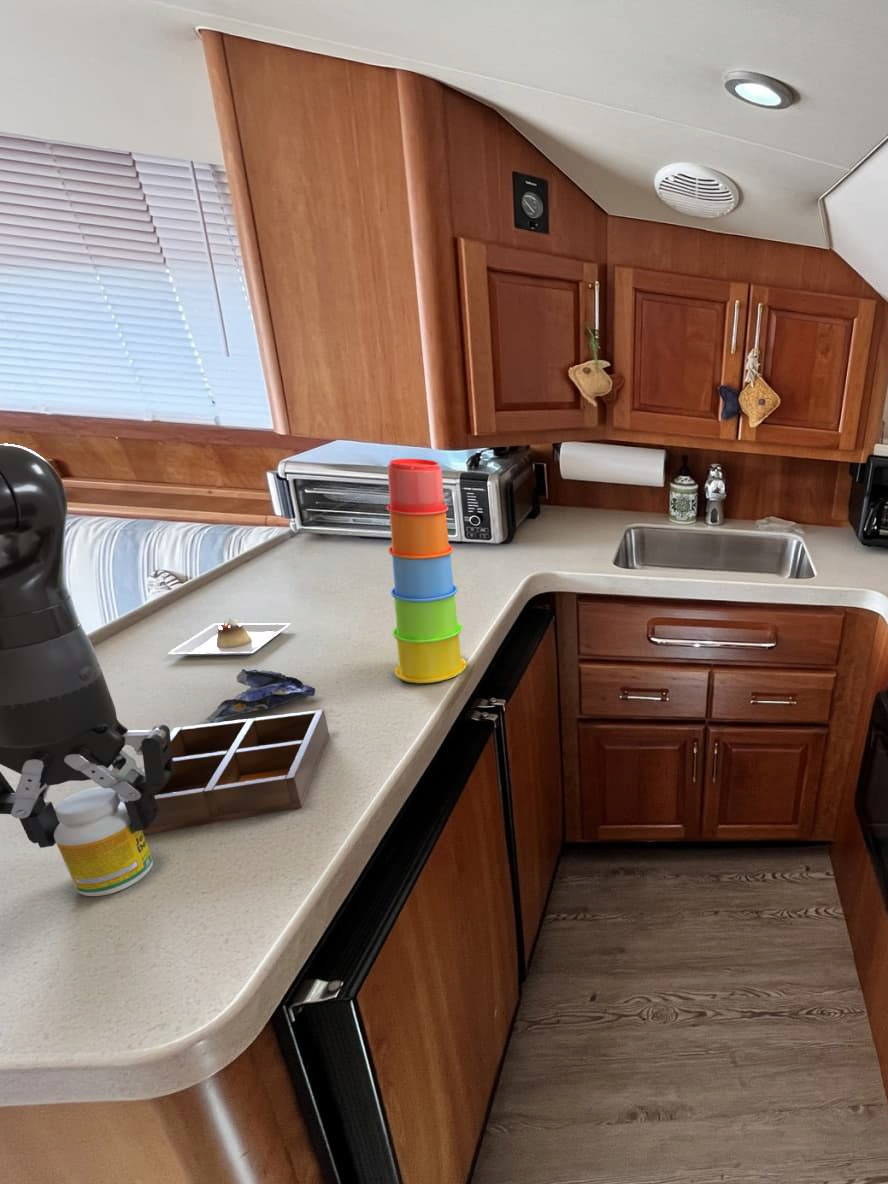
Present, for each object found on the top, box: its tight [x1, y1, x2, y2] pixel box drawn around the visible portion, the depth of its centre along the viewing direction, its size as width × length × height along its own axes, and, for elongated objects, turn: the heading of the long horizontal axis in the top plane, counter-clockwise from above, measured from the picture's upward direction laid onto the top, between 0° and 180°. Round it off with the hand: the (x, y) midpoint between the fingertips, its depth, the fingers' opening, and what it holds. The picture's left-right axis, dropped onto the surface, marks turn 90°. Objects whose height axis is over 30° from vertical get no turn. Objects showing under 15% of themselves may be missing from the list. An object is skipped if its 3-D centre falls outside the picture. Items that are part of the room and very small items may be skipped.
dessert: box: [166, 617, 292, 657], centre depth 107 cm, size 12×12×5 cm
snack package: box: [204, 668, 316, 724], centre depth 92 cm, size 12×6×12 cm
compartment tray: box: [119, 709, 330, 836], centre depth 77 cm, size 15×15×4 cm
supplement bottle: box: [54, 786, 154, 897], centre depth 61 cm, size 5×5×10 cm
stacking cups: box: [386, 458, 467, 684], centre depth 99 cm, size 10×10×35 cm
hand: (99, 832), depth 61 cm, fingers open, 6 cm apart
